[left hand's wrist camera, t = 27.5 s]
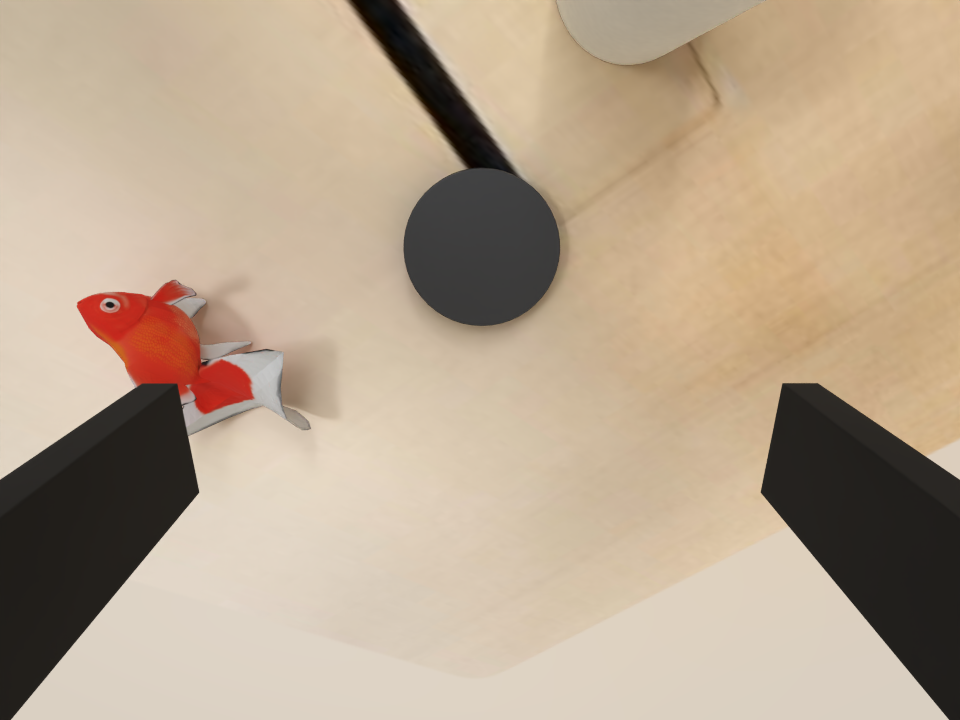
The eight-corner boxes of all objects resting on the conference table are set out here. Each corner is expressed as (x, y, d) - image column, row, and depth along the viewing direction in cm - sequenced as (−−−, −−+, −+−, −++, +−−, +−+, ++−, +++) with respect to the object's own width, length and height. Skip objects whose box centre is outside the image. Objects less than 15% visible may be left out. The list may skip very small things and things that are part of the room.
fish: (198, 203, 33) (117, 330, 27) (362, 355, 44) (330, 471, 38) (93, 261, 38) (4, 381, 32) (264, 386, 48) (222, 494, 42)
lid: (481, 133, 37) (482, 131, 35) (586, 246, 39) (592, 251, 37) (376, 245, 39) (371, 250, 37) (481, 345, 42) (481, 355, 40)
